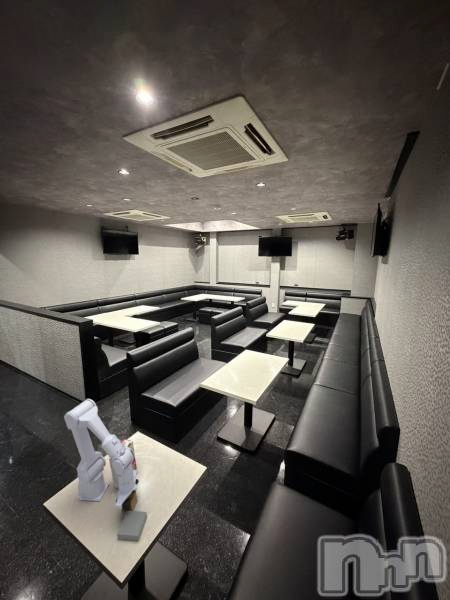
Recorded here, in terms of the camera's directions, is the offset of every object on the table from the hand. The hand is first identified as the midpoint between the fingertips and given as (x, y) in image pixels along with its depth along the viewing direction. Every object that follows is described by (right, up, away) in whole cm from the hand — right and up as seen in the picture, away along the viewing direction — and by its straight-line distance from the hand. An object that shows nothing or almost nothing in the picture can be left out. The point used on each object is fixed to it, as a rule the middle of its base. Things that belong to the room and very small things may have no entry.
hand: (129, 503), depth 98 cm
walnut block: (0, -2, 0) cm, 2 cm away
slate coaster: (+4, -4, -7) cm, 9 cm away
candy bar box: (-7, +1, +13) cm, 15 cm away
